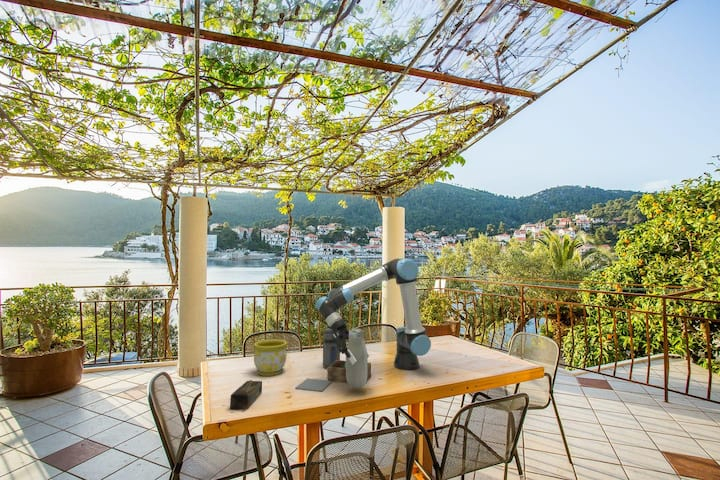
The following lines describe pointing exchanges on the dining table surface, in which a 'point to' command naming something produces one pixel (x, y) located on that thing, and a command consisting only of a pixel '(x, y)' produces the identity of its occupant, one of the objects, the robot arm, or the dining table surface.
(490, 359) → the dining table surface
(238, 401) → the beverage carton
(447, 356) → the dining table surface
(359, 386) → the grey vase
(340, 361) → the walnut crate
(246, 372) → the dining table surface
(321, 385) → the grey mat
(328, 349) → the beverage bottle
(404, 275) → the robot arm
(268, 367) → the flowerpot
